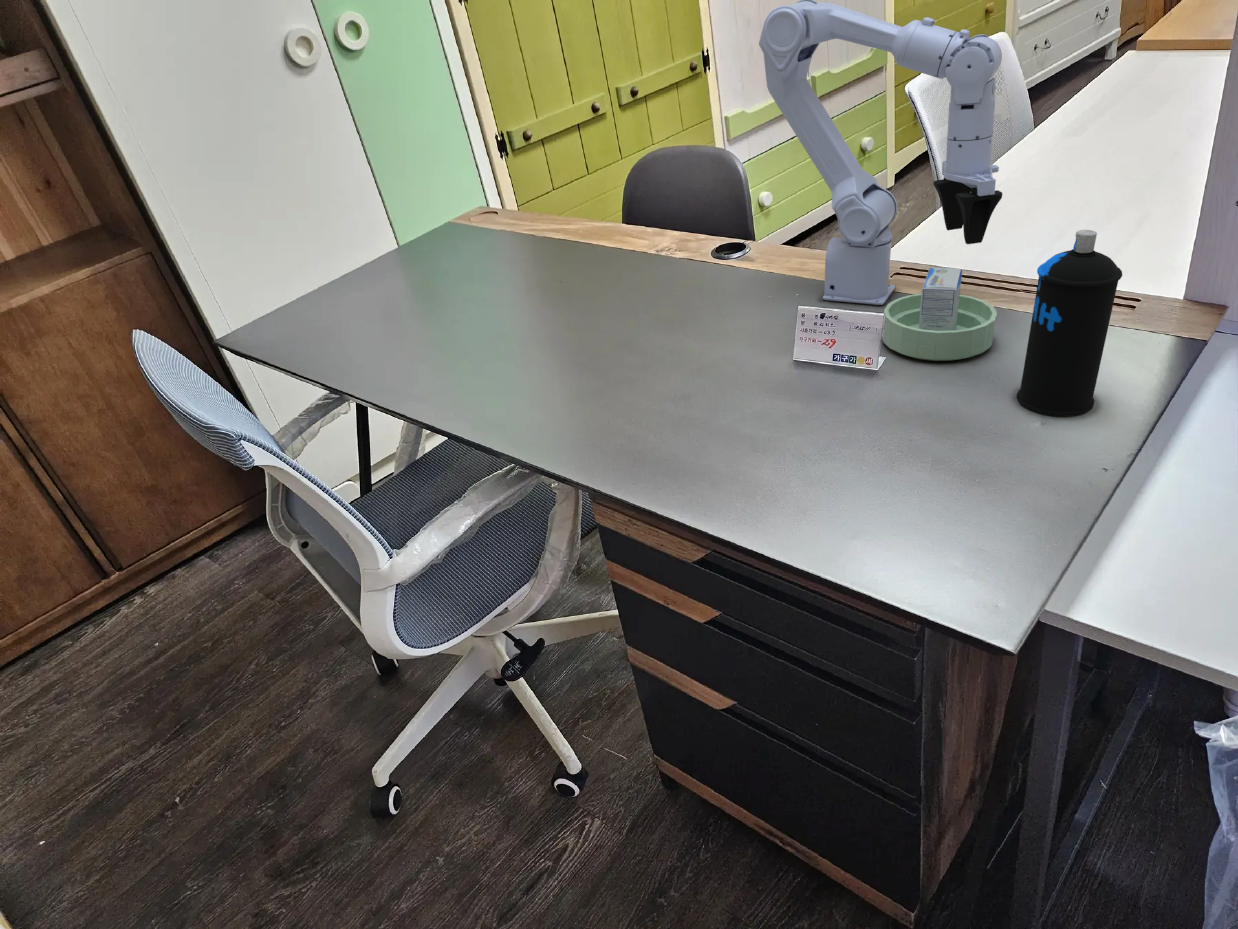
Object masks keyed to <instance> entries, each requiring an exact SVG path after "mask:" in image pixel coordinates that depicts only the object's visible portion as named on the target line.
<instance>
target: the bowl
mask: <svg viewBox="0 0 1238 929" xmlns="http://www.w3.org/2000/svg"><path fill="white" fill-rule="evenodd" d="M921 294H922V292H921V293H915V294H909V295H905V296H902V297H899V298H896V299H894V300H892V301H890V302H889V303H888V304H887V305H886V306H885V308H884V309H883V317H884V316H885V321H884V334H883V337H882V342H883V344H885V345H886V347H888V348H889V350H893V351H895V352H896V353H899V354H901V355H903V356H907V357H909V358H913V359H917V360H923V361H934V362H947V361H948V362H949V361H958V360H962V359H963V360H964V359H967V358H968V359H969V358H971V357H975V356H977V355H980V354H983V353H985V352H986V351H988V350H989V349H990V348H991V347H992V345H993V343H994V340H995V333H996V325H997V318H998V313H997V310H996V308H995V306H993V305H991V303H989V302H987V301H986V300H983V299H980V298H977V297H975V296H970V295H965V294H961V293H960V297H959V306H958V316H957V325H956V330H954V331H934V330H924V329H919V319H920V306H921Z"/></svg>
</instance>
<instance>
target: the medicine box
mask: <svg viewBox="0 0 1238 929" xmlns="http://www.w3.org/2000/svg"><path fill="white" fill-rule="evenodd" d="M962 277H963V269H962V268H956V267H930V268H929V269H928V271H927V275H926V277H925V281H924V283H923V286H922V289H921V293H922V294H921V293H920V294H921V306H920V319H919V329H924V330H934V331H954V330H956V325H957V316H958V306H959V297H960V294H961V287H962Z"/></svg>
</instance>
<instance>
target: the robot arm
mask: <svg viewBox="0 0 1238 929" xmlns="http://www.w3.org/2000/svg"><path fill="white" fill-rule="evenodd" d="M935 22H936V20H935V19H934V18H931V17H928V16H926V17H923V18H922V20H918V19H914V20H912V21H910V22H909V23H907V24H905V25H904V26H900V25H897V24H894V23H891V22H888V21H887V20H886V21H885V20H883V19H881V18H877V17H874V16H872V15H869V14H865V13H862V12H860V11H856V10H854V9H852V8H848V7H845V6H842V5H839V4H835V3H832V2H825V1H821V2H818V1H816V0H799V1H797V2H795V3H792V4H787V5H785V4H784V5H779V6H777V7H776V8H774V9H772V10H771V11H770V12H769V13H768V15H767V16H766V17H765V20H764V22H763V25H762V28H761V29H762V30H761V33H760V36H759V40H758V41H759V42H758V45H759V47H760V50H761V51H762V53H763V61H764V62H763V63H764V70H765V71H764V72H765V79H766V88H767V90H768V93H769V94H770V96H771V97H772V100H773V101H774V102H775V105H776V106H777V107H778V109H779V110H780V112H781V114H782V115H783V117H784V119H785V120H786V121H787V123H788V125H789V126H790V128H791V129H792V131H793V133H794V134H795V136H796V137H797V138H798V141H799V142H800V144H801V145H802V147H803V149H804V150H805V152H806V153H807V155H808V156H809V159H810V160H811V161H812V163H813V164H814V166H815V168H816V169H817V171H818V172H819V174H820V176H821V177H822V179H823V180H824V182H825V184H826V185H827V187H828V188H829V190H830V191H831V208H832V211H833V212H834V213H835V216H836V218H837V224H838V230H839V233H840V235H841V237H832V238H831V239H830V240H829V242H828V245H827V247H826V252H825V259H824V261H825V262H824V290H823V293H824V294H823V296H822V300H824V301H830V302H831V301H832V302H843V303H853V304H862V305H863V304H864V305H874V306H883V305H885V304H886V302H887V301H888V299H889V298H890V296H891V295H892V293H893V292H894V291H895V289H896V285H895V284H890V283H889V282H890V281H889V280H890V266H891V253H892V240H893V239H892V237H893V236H892V235H893V234H892V233H891V230H890V224H892V222H893V221H894V220H895V219H896V217H897V214H898V202H897V199H896V197H895V195H894V194H893V193H892V192H891V191H889V190H888V189H886V188H885V187H883V186H882V185H881V184H880V183H879V182H878V180H877V178H876V177H875V176H873V175H872V174H870V173H869V172H867V171H865V170H864V169H863V167H862V166H861V165H860V163H859V161H858V160H857V158H856V156H855V155H854V153H853V152H852V150H851V149H850V147H849V145H848V144H847V142H846V140H845V139H844V137H843V135H842V134H841V132H840V131H839V129H838V127H837V125H836V124H835V123H834V121H833V119H832V118H831V116H830V114H829V112H828V111H827V109H826V108H825V106H824V105H823V103H822V102H821V100H820V99H819V96H818V95H817V94H816V92H815V90H814V88H813V87H812V85H811V83H810V82H809V80H808V74H809V70H810V66H811V62H812V59H813V55H814V53H816V50H817V48H818V47H819V45H820V44H821V43H824V42H828V41H831V40H841V41H846V42H849V43H853V44H857V45H861V46H865V47H867V48H871V49H877V50H880V51H884V52H888V53H891V55H892V56H893V59H894V60H895V63H896V65H897V66H899V67H901V68H904V69H907V70H911V71H913V72H917V73H920V74H924V75H927V76H930V77H933V78H937V79H940V80H943V79H946V80H947V82H948V84H949V85H950V96H949V97H950V99H949V103H948V117H947V119H948V120H947V135H946V136H947V138H946V157H945V160H943V161H941V162H942V167H941V175H942V176H943V179H937V180H934V181H933V186H934V188H935V191H936V192H937V194H938V197H939V200H940V204H941V208H942V209H941V210H942V214H943V221H944V225H945V229H946V230H947V231H954V230H961V229H963V238H964V243H965V244H966V245H975V244H980V243H982V242H983V240H984V237H985V234H986V232H987V228H988V225H989V223H990V220H991V217H992V215H993V213H994V211H995V209H996V207H997V206H998V204H999V203H1000V201H1001V200H1002V199H1003V192H1002V191H1000V190H996V181H997V179H996V178H994V177H993V174H995V173H999V171H1000V167H999V165H996V164H991V163H992V162H991V161H992V151H993V150H992V148H993V137H994V136H993V135H994V123H995V111H996V110H995V108H996V97H995V95H996V94H995V93H996V87H997V85H996V80H997V78H996V77H994V76H995V75H996V73H997V72H998V71H999V69H1000V67H1001V64H1002V59H1003V53H1002V49H1001V46H1000V45H999V43H998V42H997V41H996V40H995V39H993V38H992V37H989V36H988V35H986V34H976V35H973V36H971V37H970V33H971V31H970V30H967V29H965V28H963V29H961V30H960V31H956V30H952V29H949V28H945V27H942V26H939V25H936V24H935Z"/></svg>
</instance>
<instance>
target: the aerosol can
mask: <svg viewBox="0 0 1238 929" xmlns="http://www.w3.org/2000/svg"><path fill="white" fill-rule="evenodd" d="M1097 235H1098V233H1097V232H1096V231H1095V230H1092V229H1081V230H1077V231H1076V232H1075V241H1074V244H1073V248H1072V249H1070V250H1066V251H1065V250H1064V251H1061V252H1059V253H1056V254H1054V255H1052V256H1051V257H1050V258H1048V259H1046V261H1045V262H1043V263H1042V264H1040V265H1039V266H1038V267H1037V270H1036V272H1037V275H1038V280H1037V286H1036V292H1035V298H1034V304H1033V310H1032V314H1031V316H1032V317H1031V322H1030V328H1029V333H1028V334H1029V335H1028V341H1027V345H1026V346H1027V347H1026V351H1025V352H1026V353H1025V358H1024V363H1023V369H1022V370H1023V371H1022V375H1021V376H1022V377H1021V382H1020V388H1019V389H1018V391H1017V393H1016V399H1017V401H1018V402H1019V404H1020V405H1022V407H1024V408H1025V409H1028V410H1030V411H1032V412H1035V413H1038V414H1041V415H1046V416H1052V417H1075V416H1079V415H1082V414H1085V413H1087V412H1089V411H1091V410H1092V409H1093V408H1094V406H1095V398H1094V394H1095V391H1096V387H1097V386H1096V385H1097V382H1098V376H1099V373H1100V372H1099V371H1100V366H1101V362H1102V357H1103V353H1104V348H1105V344H1106V339H1107V335H1108V331H1109V325H1110V322H1111V321H1110V320H1111V316H1112V312H1113V307H1114V302H1115V299H1116V294H1117V288H1118V283H1119V280H1121V279H1122V277H1123V271H1122V269H1121V267H1119V266H1118V265H1117V264H1116V263H1115V262H1114V261H1113V259H1112V258H1110V256H1107V255H1106V254H1103V253H1101V252H1099V251H1096V250H1095V244H1096V239H1097Z"/></svg>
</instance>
